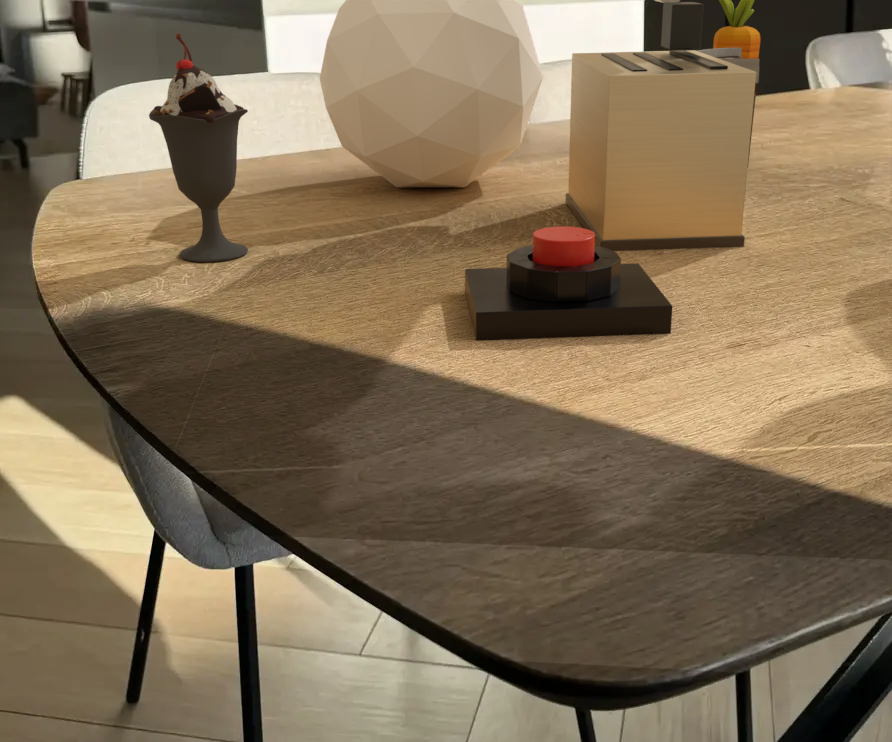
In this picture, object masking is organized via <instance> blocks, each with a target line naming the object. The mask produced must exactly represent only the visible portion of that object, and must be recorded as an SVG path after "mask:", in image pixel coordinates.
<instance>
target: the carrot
mask: <svg viewBox="0 0 892 742" xmlns="http://www.w3.org/2000/svg"><path fill="white" fill-rule="evenodd" d="M718 2H719V4H720V5H721V7H722V10H723V11H724V14H725V16H726V19H727V20H728V23H729V25H728V26H723V27H721V28H719V29H718V30H717V31H716V32H715V34H714V36H713V46H712V49H717V48H742V52H741V59H743V58H748V59H759V57H760V56H759V55H760V47H761V33H760V32H759V31H758V30H757V29H756V28H754V27H751V26H749V25H745V23H746V22H747V21H748V20H749V18H750V17H751V16H752V15H753V14H754V12H755V10H754V9H753V8H752V7H753V4H754V3H755V0H740V1H739V3H738V5H737V6H736V8H735V7H734V3H733V1H732V0H718Z"/></svg>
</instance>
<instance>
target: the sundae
mask: <svg viewBox="0 0 892 742" xmlns="http://www.w3.org/2000/svg"><path fill="white" fill-rule="evenodd" d="M175 36H176V37H175V38H176V40H178V42H179V43H180V44H181V45H182V46H183V48H184V55H183V59H179V60H178V61H177V63H176V66H175V67H176V70H177V71H176V73H175V75H173V77H172V79H170V81H169V84H168V89H167V99H166V100H165V102H164V103H163V104H162V105H155V106H154V107H153V109H152V110H150V112H149V114H148V118H149V119H150V121H153V122H155V123H157V124H158V125H159V126H160V129H161V132H162V134H163V137H164V138H163V139H164V140H165V143H166V148H167V151H168V152H167V153H168V156H169V160H170V164H171V169H172V173H173V176H174V178H175V179H174V180H175V182H176V185H177V187H178V190H179V191H180V192H181V193H182V194H183V195H184V196H185V198H187V199H188V200H189V201H191V202H192V203H194V204H195V206H197V207H198V208H199V209H200V213H201V214H200V215H201V221H202V223H201V225H202V226H201V227H202V228H201V229H202V230H201V235H200V237H199V240H198V241H197V243H196V244H194V245H191V246H188V247H186V248H184V249H182V250H181V251H180V252H179V254H178V256H179V257H180V258H181V259H182V260H185V261H188V262H194V263H195V262H196V263H218V262H225V261H229V260H235V259H238V258H242V257H244V256H246V255H247V253H248V252H249V248H248V247H247V246H246V245H245V244H241V243H237V242H232V241H230V240H229V239H228V238H226V236H225V235H224V233H223V230H222V228H221V224H220V219H219V206H220V205H221V203H223V201H224V200H225V199H227V198H228V197H229V195H230V194H231V192H232V191H233V189H234V188H235V185H236V177H237V168H238V166H237V165H238V163H237V161H238V136H239V126H240V125H239V124H240V120H241V118H242V117H243V116H244V115H246V114H247V113H248V111H249V110H248V109H246V108H244V107H243V106H241V105H238V104H235V103H234V102H233V101H232V100H231V99H230V98H229V97H228V96H226V95H225V94H224V93H223V92H222V91H221V89H220V88H219V87H218V84H217V82H216V79H214V78H213V76H212V75H211V74H210V73H209V72H208V71H206V70H205V69H202V68H200V67H198V66H195V65H194V64H193V59H192V54H191V52H190V50H189V48H188V46H187V45H186V43H185V41H184V40H183V39H182V36H181V33H179V32H178V33H176V35H175ZM187 57H188V58H187Z"/></svg>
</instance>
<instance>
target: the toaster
mask: <svg viewBox="0 0 892 742" xmlns="http://www.w3.org/2000/svg"><path fill="white" fill-rule="evenodd" d="M570 78H571V79H570V81H571V83H570V115H569V116H570V117H569V153H568V162H569V163H568V192H567V193H565V199H564V201H565V204H566V205H567V207H568V208H569V210H570V211H571V213H572V214H573V216H574V217H575V219H576V220H577V219H578V220H577V221H578V222H579V224H580V226H581V228H584V229H588V230H591V231H593V232H594V233H595V245H597V246H600V247H603V248H606V249H610V250H613V251H615V252H625V251H626V252H628V251H655V250H656V251H657V250H660V251H661V250H685V249H686V250H687V249H688V250H689V249H690V250H691V249H715V248H717V249H718V248H719V249H720V248H744V247H745V239H746V236H744V235H743V234H742V233H743V232H742V231H743V222H744V211H745V210H744V209H745V200H746V199H745V198H746V189H747V178H748V168H749V163H748V157H749V158H750V154H749V146H750V147H751V145H750V135H751V124H752V113H753V102H754V91H755V81H756V72H755V71H752V70H749V69H747V68H744V67H741V66H738V65H735V64H732V63H729V62H727V61H724V60H721V59H718V58H715V57H712V56H710V55H707V54H704V53H701V52H698V50H696V49H674V50H653V51H651V50H649V51H615V52H613V51H610V52H608V51H607V52H575V53H574V52H573V53H572V54H571V77H570ZM751 136H752V135H751Z"/></svg>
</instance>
